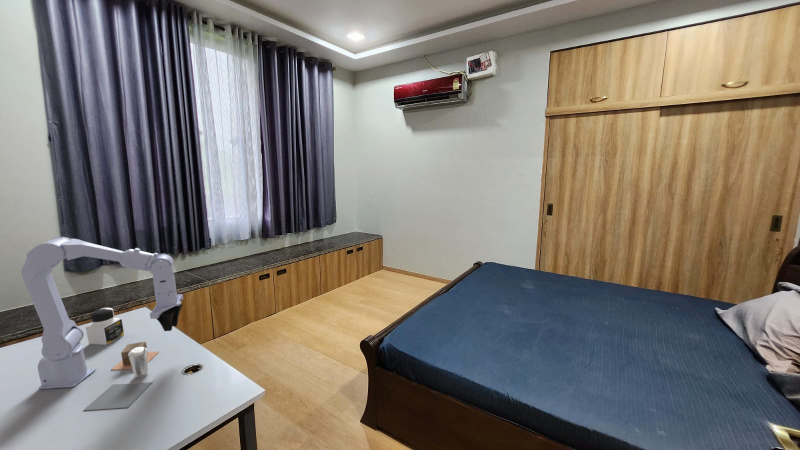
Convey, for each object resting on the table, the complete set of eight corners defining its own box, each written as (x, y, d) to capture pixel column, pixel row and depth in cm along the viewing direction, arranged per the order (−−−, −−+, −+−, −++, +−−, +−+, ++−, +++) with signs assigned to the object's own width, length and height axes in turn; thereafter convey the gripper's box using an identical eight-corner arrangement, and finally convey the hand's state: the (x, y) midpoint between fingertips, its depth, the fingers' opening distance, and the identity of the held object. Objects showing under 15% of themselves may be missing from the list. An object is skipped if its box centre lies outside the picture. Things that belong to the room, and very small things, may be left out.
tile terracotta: (110, 370, 99) (110, 369, 99) (131, 353, 108) (131, 353, 108) (141, 368, 100) (141, 367, 100) (159, 352, 109) (159, 351, 109)
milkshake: (142, 381, 95) (137, 351, 93) (128, 378, 96) (123, 349, 94) (156, 371, 99) (152, 343, 97) (142, 369, 100) (138, 341, 98)
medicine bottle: (107, 345, 113) (102, 314, 111) (88, 344, 113) (82, 314, 111) (124, 334, 120) (120, 306, 118) (106, 334, 120) (101, 305, 118)
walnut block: (123, 366, 101) (121, 352, 100) (129, 357, 106) (127, 344, 105) (142, 362, 103) (140, 349, 102) (147, 354, 107) (145, 341, 107)
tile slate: (83, 410, 83) (83, 410, 83) (112, 385, 93) (112, 384, 93) (127, 407, 84) (127, 407, 84) (152, 382, 94) (152, 382, 94)
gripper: (164, 299, 96) (170, 339, 99) (190, 282, 111) (194, 317, 113) (140, 300, 96) (146, 340, 98) (169, 283, 110) (173, 318, 112)
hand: (170, 328), depth 106 cm, fingers closed
